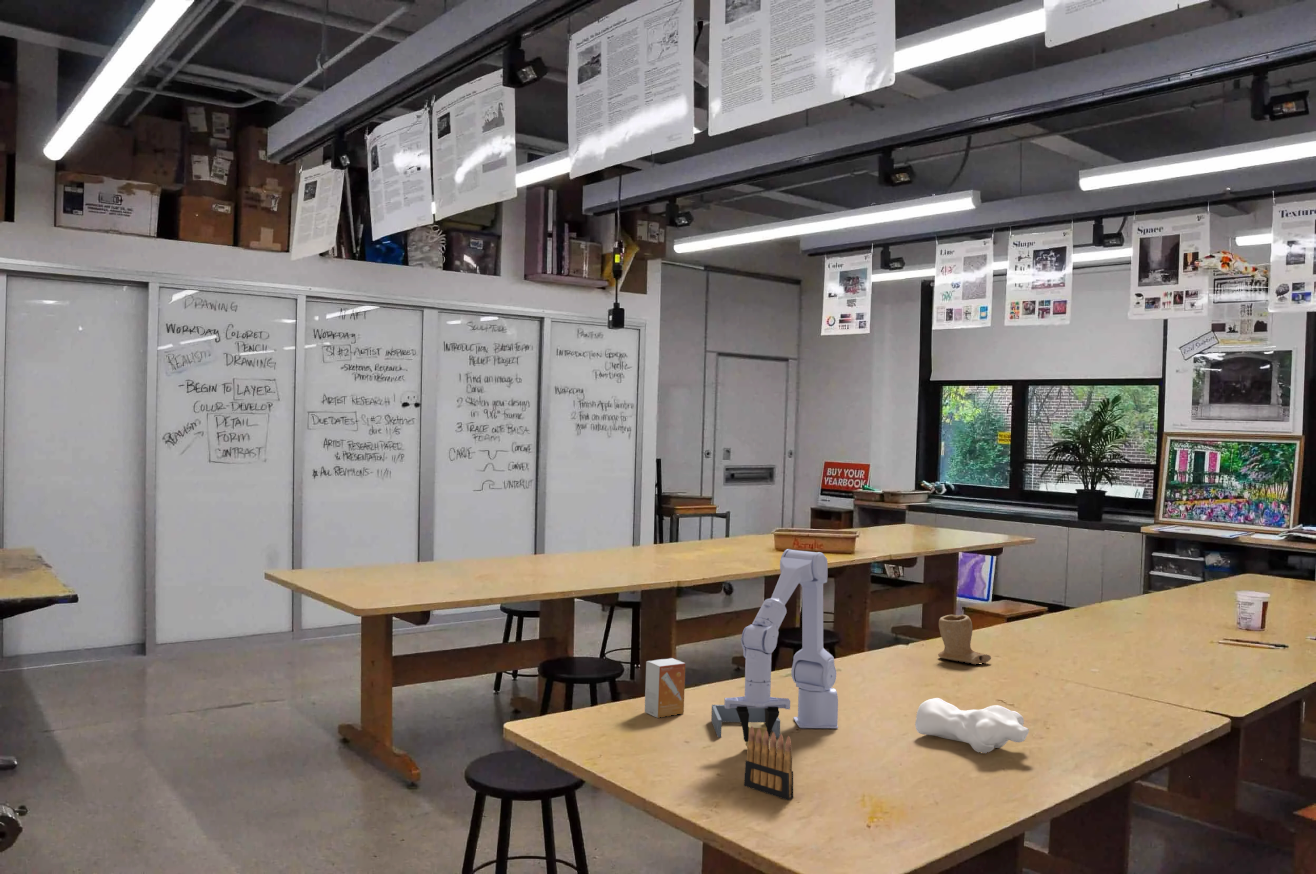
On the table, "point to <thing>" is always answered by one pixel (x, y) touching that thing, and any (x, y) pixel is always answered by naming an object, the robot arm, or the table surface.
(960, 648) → the tan textured boot shape
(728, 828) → the table surface
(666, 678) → the small box
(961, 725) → the torso sculpture
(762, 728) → the block
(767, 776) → the ammunition clip
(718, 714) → the u-shaped frame
